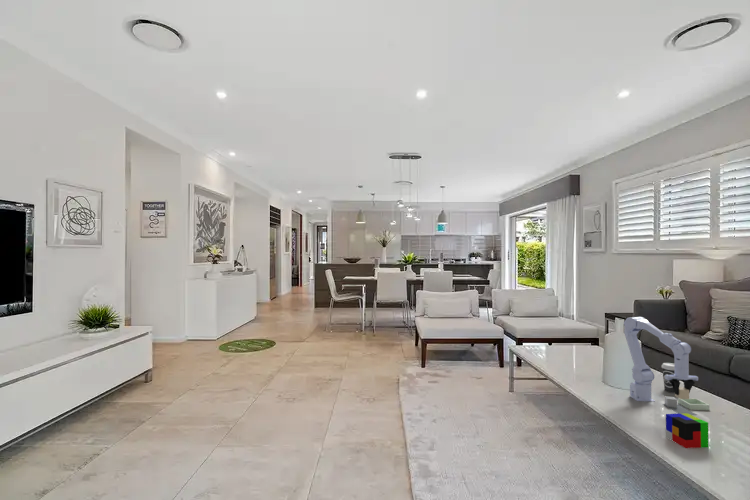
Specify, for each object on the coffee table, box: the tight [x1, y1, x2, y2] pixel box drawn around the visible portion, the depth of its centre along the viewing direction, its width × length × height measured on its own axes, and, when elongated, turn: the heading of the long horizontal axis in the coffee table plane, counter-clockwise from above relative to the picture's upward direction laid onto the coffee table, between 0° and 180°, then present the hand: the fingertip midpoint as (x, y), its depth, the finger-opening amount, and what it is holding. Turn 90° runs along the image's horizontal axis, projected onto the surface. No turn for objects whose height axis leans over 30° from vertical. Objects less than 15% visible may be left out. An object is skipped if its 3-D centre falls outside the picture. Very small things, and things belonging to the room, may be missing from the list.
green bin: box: [677, 397, 710, 411], centre depth 211 cm, size 9×9×3 cm
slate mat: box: [662, 403, 697, 416], centre depth 207 cm, size 8×14×1 cm, turn 175°
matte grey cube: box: [664, 395, 678, 408], centre depth 212 cm, size 4×4×4 cm
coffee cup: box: [660, 362, 681, 394], centre depth 237 cm, size 10×10×15 cm
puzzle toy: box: [665, 413, 709, 449], centre depth 172 cm, size 10×10×10 cm
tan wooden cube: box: [674, 386, 690, 399], centre depth 205 cm, size 4×4×4 cm
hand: (681, 394), depth 205 cm, fingers closed on tan wooden cube, 4 cm apart
